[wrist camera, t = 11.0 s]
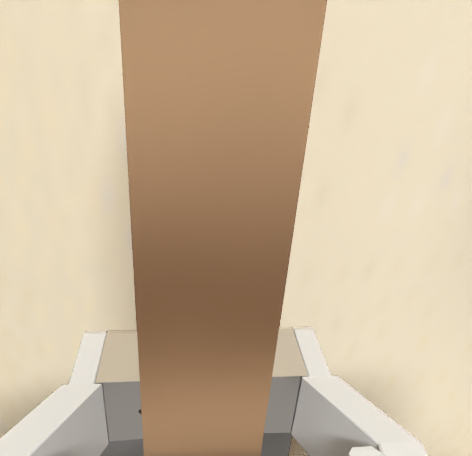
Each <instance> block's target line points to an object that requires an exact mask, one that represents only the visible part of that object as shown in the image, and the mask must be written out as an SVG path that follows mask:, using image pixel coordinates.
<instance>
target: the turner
mask: <svg viewBox="0 0 472 456" xmlns="http://www.w3.org/2000/svg"><path fill="white" fill-rule="evenodd" d="M326 5H327V0H119V14H120V32H121V50H122V68H123V86H124V105H125V123H126V141H127V159H128V177H129V195H130V213H131V231H132V249H133V268H134V286H135V304H136V322H137V340H138V358H139V376H140V394H141V412H142V430H143V439H133V440H120V441H108V443H109V444H108V445H107V447H106V448H105V449H104V451H103V452H102V453H101V455H100V456H288V454H289V449H290V444H291V439H292V435H291V433H292V432H290V433H264V428H265V421H266V414H267V408H268V401H269V394H270V387H271V380H272V373H273V367H274V360H275V353H276V346H277V339H278V333H279V326H280V319H281V312H282V305H283V298H284V292H285V285H286V278H287V271H288V264H289V257H290V251H291V244H292V237H293V230H294V223H295V216H296V210H297V203H298V196H299V189H300V182H301V175H302V169H303V162H304V155H305V148H306V141H307V134H308V128H309V121H310V114H311V107H312V100H313V93H314V87H315V80H316V73H317V66H318V59H319V52H320V46H321V39H322V32H323V25H324V18H325V11H326Z"/></svg>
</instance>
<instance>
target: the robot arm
mask: <svg viewBox="0 0 472 456" xmlns="http://www.w3.org/2000/svg"><path fill="white" fill-rule="evenodd" d="M290 432H292V433H291V435H292V436H293V437H294V438H295V439H296V441H297V442H298V443H299V444H300V445H301V447H302V448H303V449H304V450H305V451H306V453H307V454H308V455H309V456H428V454H427V452H426V450H425V449H424V447H423V445H422V443H421V442H420V441H419V440H418V439H416V438H415V437H414V436H413V435H411V434H410V433H409V432H408V431H406V430H405V429H404V428H403V427H401V426H400V425H399V424H398V423H396V422H395V421H394V420H393V419H391V418H390V417H389V416H388V415H386V414H385V413H384V412H382V411H381V410H380V409H379V408H377V407H376V406H375V405H374V404H372V403H371V402H370V401H369V400H367V399H366V398H365V397H364V396H362V395H361V394H360V393H359V392H357V391H356V390H355V389H354V388H352V387H351V386H350V385H348V384H347V383H346V382H345V381H343V380H342V379H341V378H340V377H338V376H331V373H330V370H329V368H328V365H327V362H326V360H325V357H324V355H323V352H322V349H321V347H320V344H319V342H318V339H317V336H316V334H315V331H314V329H313V328H312V327H311V326H308V327H291V328H290V327H289V328H279V333H278V339H277V346H276V353H275V360H274V367H273V373H272V380H271V387H270V394H269V401H268V408H267V414H266V421H265V428H264V433H290ZM133 439H143V430H142V412H141V394H140V376H139V358H138V340H137V330H108V331H86V332H85V333H84V334H83V337H82V340H81V343H80V347H79V350H78V353H77V357H76V360H75V364H74V367H73V370H72V374H71V377H70V381H69V384H68V385H61V386H60V387H59V388H58V389H56V390H55V391H54V392H53V393H52V394H51V395H50V396H48V397H47V398H46V399H45V400H44V401H43V402H42V403H40V404H39V405H38V406H37V407H36V408H35V409H34V410H32V411H31V412H30V413H29V414H28V415H27V416H26V417H24V418H23V419H22V420H21V421H20V422H19V423H18V424H16V425H15V426H14V427H13V428H12V429H11V430H10V431H8V432H7V433H6V434H5V435H4V436H3V437H2V438H0V456H100V455H101V453H102V452H103V451H104V449H105V448H106V447H107V445H108V444H109V443H108V441H120V440H133Z"/></svg>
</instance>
